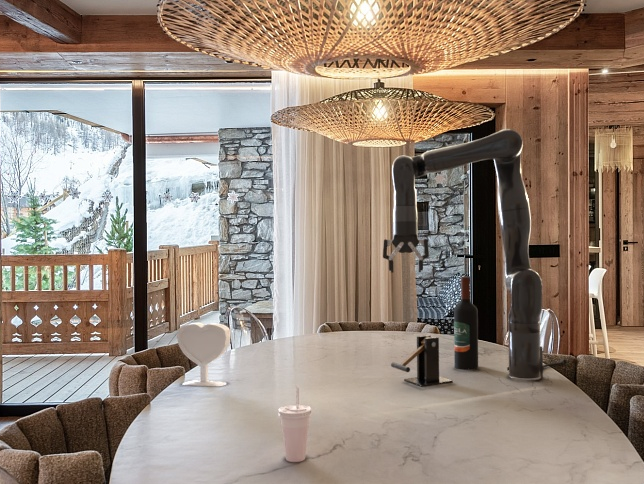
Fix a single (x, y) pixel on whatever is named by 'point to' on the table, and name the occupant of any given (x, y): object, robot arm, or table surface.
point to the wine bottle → (466, 330)
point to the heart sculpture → (203, 347)
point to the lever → (409, 358)
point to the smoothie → (295, 429)
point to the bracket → (428, 364)
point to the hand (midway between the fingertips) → (405, 272)
